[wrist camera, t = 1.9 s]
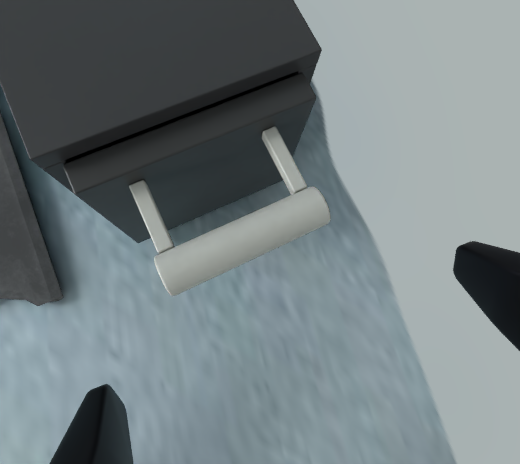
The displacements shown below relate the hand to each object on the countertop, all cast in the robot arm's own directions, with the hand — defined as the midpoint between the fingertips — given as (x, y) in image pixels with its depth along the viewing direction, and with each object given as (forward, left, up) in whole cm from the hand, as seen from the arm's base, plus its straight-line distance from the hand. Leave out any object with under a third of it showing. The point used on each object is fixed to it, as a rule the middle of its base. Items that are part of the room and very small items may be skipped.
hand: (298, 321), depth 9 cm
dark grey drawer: (+7, +8, -12) cm, 16 cm away
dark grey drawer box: (+9, +11, -13) cm, 19 cm away
